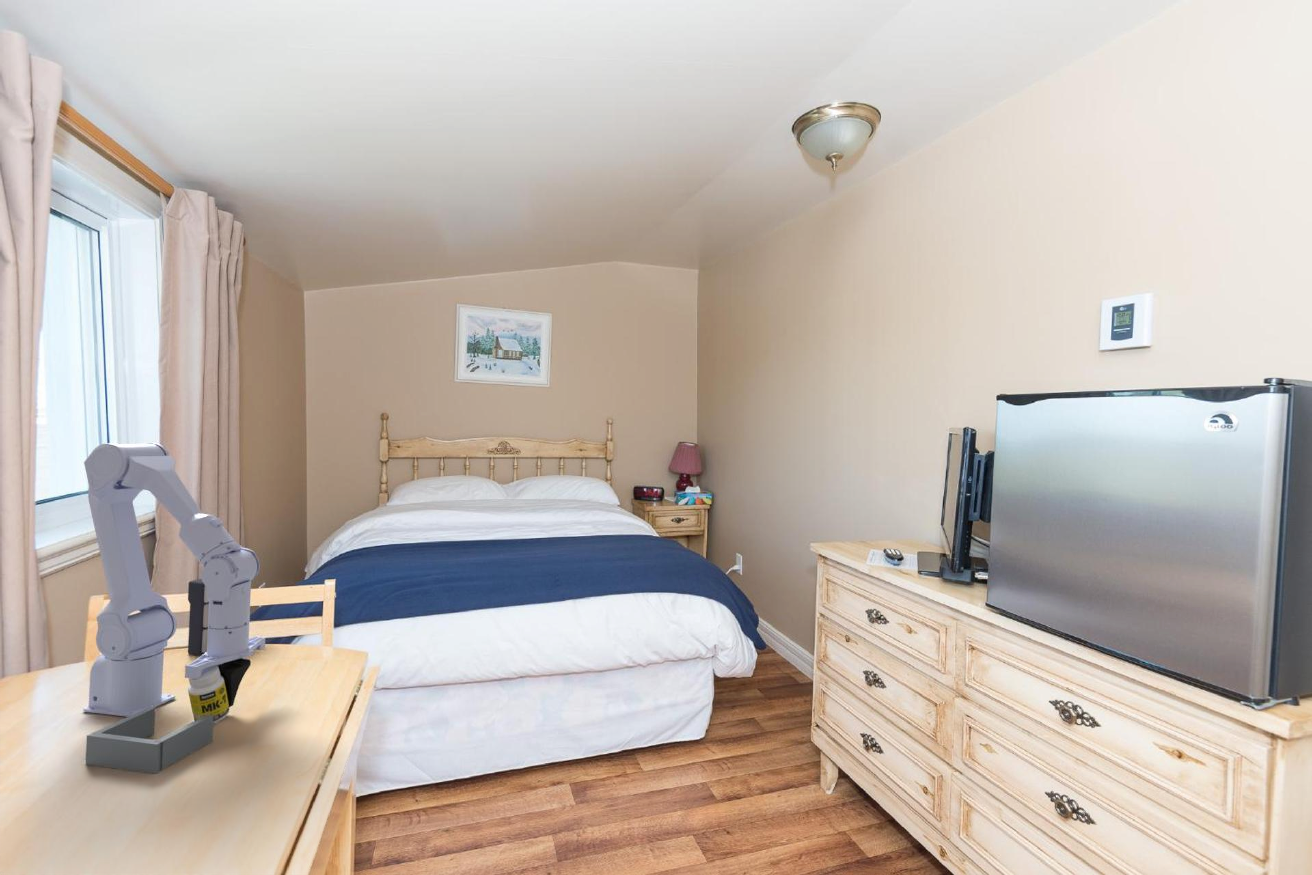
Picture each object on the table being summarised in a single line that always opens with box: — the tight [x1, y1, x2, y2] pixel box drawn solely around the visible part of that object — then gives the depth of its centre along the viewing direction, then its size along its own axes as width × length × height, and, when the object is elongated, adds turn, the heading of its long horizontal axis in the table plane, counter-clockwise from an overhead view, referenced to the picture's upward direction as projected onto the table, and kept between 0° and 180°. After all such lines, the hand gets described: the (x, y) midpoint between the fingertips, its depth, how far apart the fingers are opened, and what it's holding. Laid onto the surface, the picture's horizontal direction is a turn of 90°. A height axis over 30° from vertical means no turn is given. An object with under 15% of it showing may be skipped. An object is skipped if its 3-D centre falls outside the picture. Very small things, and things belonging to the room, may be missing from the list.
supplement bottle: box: [187, 665, 230, 725], centre depth 102 cm, size 5×5×8 cm
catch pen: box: [85, 707, 214, 775], centre depth 93 cm, size 11×10×4 cm
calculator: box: [187, 578, 209, 656], centre depth 136 cm, size 11×4×15 cm, turn 168°
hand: (225, 705), depth 106 cm, fingers closed, pressing on supplement bottle
